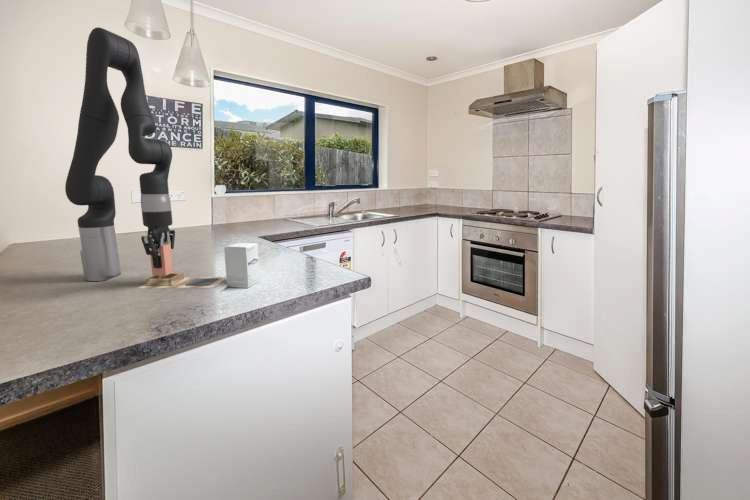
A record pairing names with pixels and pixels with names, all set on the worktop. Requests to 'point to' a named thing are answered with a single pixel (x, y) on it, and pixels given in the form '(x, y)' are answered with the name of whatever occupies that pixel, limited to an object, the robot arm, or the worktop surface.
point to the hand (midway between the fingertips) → (162, 265)
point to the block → (164, 261)
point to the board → (181, 281)
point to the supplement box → (242, 265)
